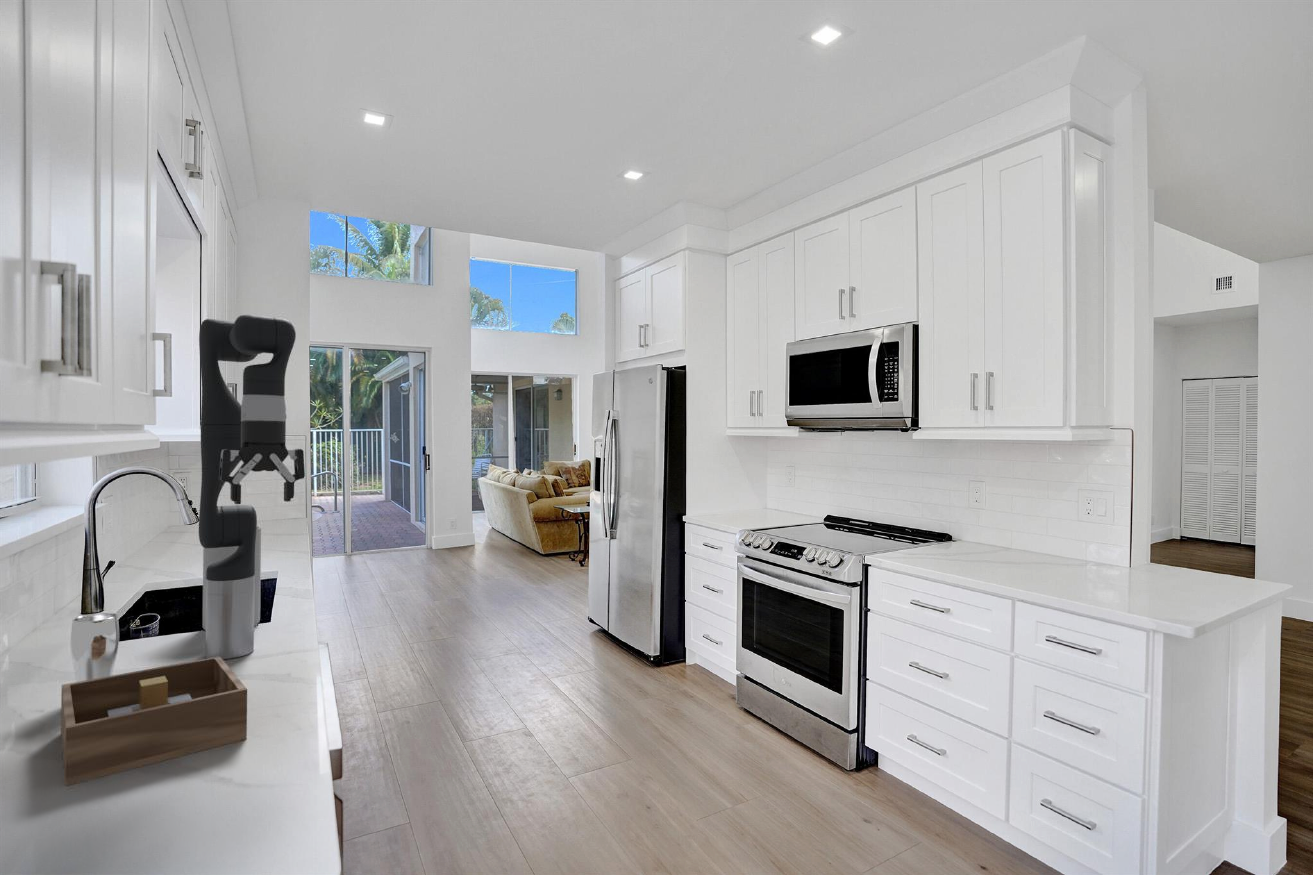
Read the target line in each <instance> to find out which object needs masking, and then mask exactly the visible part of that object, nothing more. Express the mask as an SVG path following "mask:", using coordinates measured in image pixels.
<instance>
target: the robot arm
mask: <svg viewBox="0 0 1313 875" xmlns="http://www.w3.org/2000/svg"><path fill="white" fill-rule="evenodd" d="M198 335H199V336H198V342H199V344H198V345H199V359H200V361H199V362H200V363H199V364H200V375H201V376H200V377H201V407H200V408H201V409H200V410H201V412H200V454H201V455H200V456H201V457H200V460H201V481H200V482H201V485H200V486H201V487H200V501H199V513H198V539H199V542H200V545H201V546H202V548H203V547H204V548H220V547H234V546H238V549H237V551H236V552H235V553H233V554H232V555H231V556H229V557H227V558H225V559H223V560H221V561H218V562H216V563H213V564H211V565H209V566H208V567H207V570H206V630H205V642H204V645H205V646H204V647H205V648H204V651H205V653H204V657H205V659H207V658H212V657H218V656H220V657H221V658H222V659H223V660H227V659H235V658H239V657H244V656H246V655H249V654H251V653H253V651H254V650H255V649H254V646H255V644H254V643H255V641H254V640H255V626H254V593H255V588H254V586H255V575H254V574H255V542H256V530H257V526H258V520H257V518H258V516H257V512H256V510H255V507H253V506H252V505H250V504H241V503H242V484H240V482H241V481H242V480H243V479H244V478H245V477H246V476H247V475H249V473H250V472H251V471H252V472H259V473H260V472H263V471H264V472H275V471H276V472H277V473H278V474H279V475H280V476H281V477H282V478H283V479H284V480H285V482H283V501H284V502H291V501H292V500H291V499H293V498H294V497H295V482H297V481H298V480H302V479H304V478H305V475H306V474H305V473H306V472H305V454H304V453H305V452H304V450H303V449H302V448H294V449H287V446H286V439H287V438H286V433H287V432H286V429H287V428H286V427H287V426H286V422H287V408H286V400H285V399H286V398H285V396H286V395H285V392H286V391H285V389H286V388H285V386H286V385H285V382H286V372H287V367H288V364H289V360H290V357H291V354H292V351H293V348H294V345H295V342H296V338H297V337H296V336H297V334H296V329H295V327H294V325H293V324H292V323H291V321H289V320H288V319H285V318H280V317H272V316H271V317H269V316H262V315H253V314H242V315H241V314H240V315H239V316H238V317H237V318H236V319H235V320H226V319H214V318H206V319H204V320H203V321H202V322H201V324H200V327H199V334H198ZM259 354H272V358H271V359H270V360H269V362H265V363H257V364H251V365H247V366H246V367H244V369H243V373H242V400H241V403H240V402H239V400H238V399H237V398H236V397H235V395H234V394H233V393H232V391H231V390H230V389H229V387H228V385H227V384H226V382H225V380H224V378H223V375H222V373H221V369H220V365H219V362H220V361H221V362H232V363H235V362H236V363H246V362H247V363H248V362H251V361H253V360H254V359H255V358H256V357H258V355H259ZM288 456H289V457H290V459H291V460H292V461H293V465H294V468H293V469H294V473H293V474H292V473H291V472H290V470H289V469H288V467H287V466H286V465H285V464H284V463H283V462H284V461H285V460H286V459H287V458H288ZM240 462H242V464H241V465H240V466H239V467H238V465H239V464H240ZM236 467H238V469H237V470H236V471H235V473H234V474H233V475H232V473H233V471H234V470H235V469H236ZM225 483H229V486H230V500H231V502H234V505H218V500H219V496H220V494H221V492H222V489H223V487H224V485H225Z"/></svg>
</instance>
